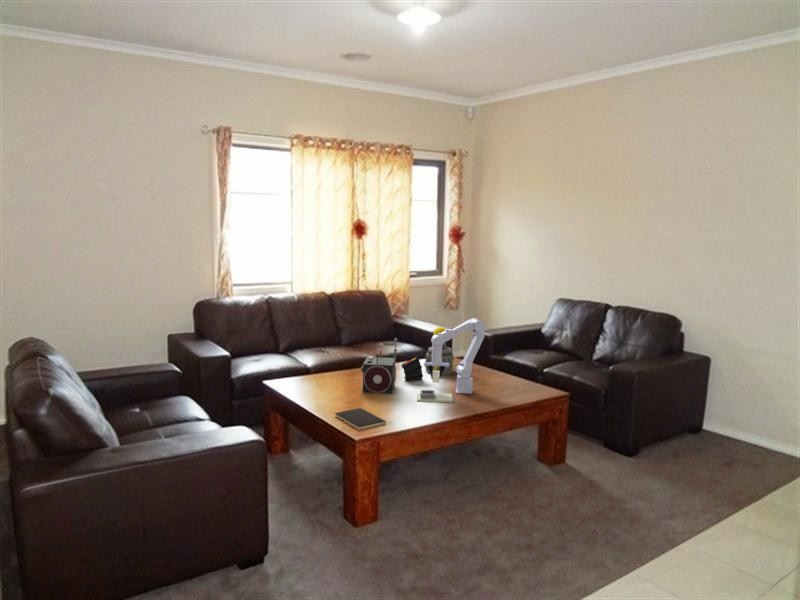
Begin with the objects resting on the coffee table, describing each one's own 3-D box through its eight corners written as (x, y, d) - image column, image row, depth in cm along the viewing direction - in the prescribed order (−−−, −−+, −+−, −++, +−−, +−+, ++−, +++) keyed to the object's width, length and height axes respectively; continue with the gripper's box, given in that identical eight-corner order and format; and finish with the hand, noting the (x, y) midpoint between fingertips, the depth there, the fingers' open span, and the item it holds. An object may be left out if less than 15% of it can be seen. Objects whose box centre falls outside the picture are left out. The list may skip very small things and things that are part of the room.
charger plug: (439, 380, 347) (439, 370, 346) (439, 382, 343) (439, 372, 342) (432, 380, 347) (432, 370, 346) (432, 382, 343) (432, 372, 342)
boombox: (364, 383, 362) (365, 335, 358) (398, 385, 361) (399, 337, 356) (360, 392, 344) (360, 342, 340) (395, 394, 343) (396, 343, 338)
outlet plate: (451, 395, 343) (451, 389, 342) (452, 402, 331) (453, 396, 330) (416, 394, 343) (417, 388, 343) (416, 401, 331) (417, 395, 331)
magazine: (427, 377, 372) (418, 357, 368) (409, 388, 369) (400, 367, 365) (425, 376, 376) (416, 355, 371) (407, 386, 372) (398, 366, 368)
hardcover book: (358, 431, 286) (358, 426, 286) (334, 417, 305) (334, 413, 304) (385, 424, 296) (385, 420, 295) (361, 411, 314) (361, 407, 314)
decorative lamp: (448, 376, 381) (450, 331, 377) (421, 373, 388) (422, 328, 383) (456, 369, 399) (458, 325, 394) (430, 366, 405) (431, 323, 401)
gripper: (448, 354, 346) (448, 377, 348) (424, 353, 347) (423, 376, 349) (449, 357, 339) (448, 380, 341) (424, 356, 340) (423, 379, 342)
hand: (435, 378), depth 345 cm, fingers closed on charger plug, 4 cm apart
